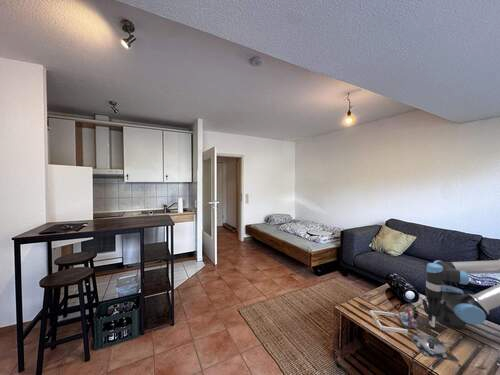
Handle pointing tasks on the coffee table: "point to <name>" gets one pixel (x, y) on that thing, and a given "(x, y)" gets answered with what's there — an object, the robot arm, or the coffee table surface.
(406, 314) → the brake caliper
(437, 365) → the coffee table surface
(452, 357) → the index plate
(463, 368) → the coffee table surface
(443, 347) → the sprocket
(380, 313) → the white angled bracket
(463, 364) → the coffee table surface
